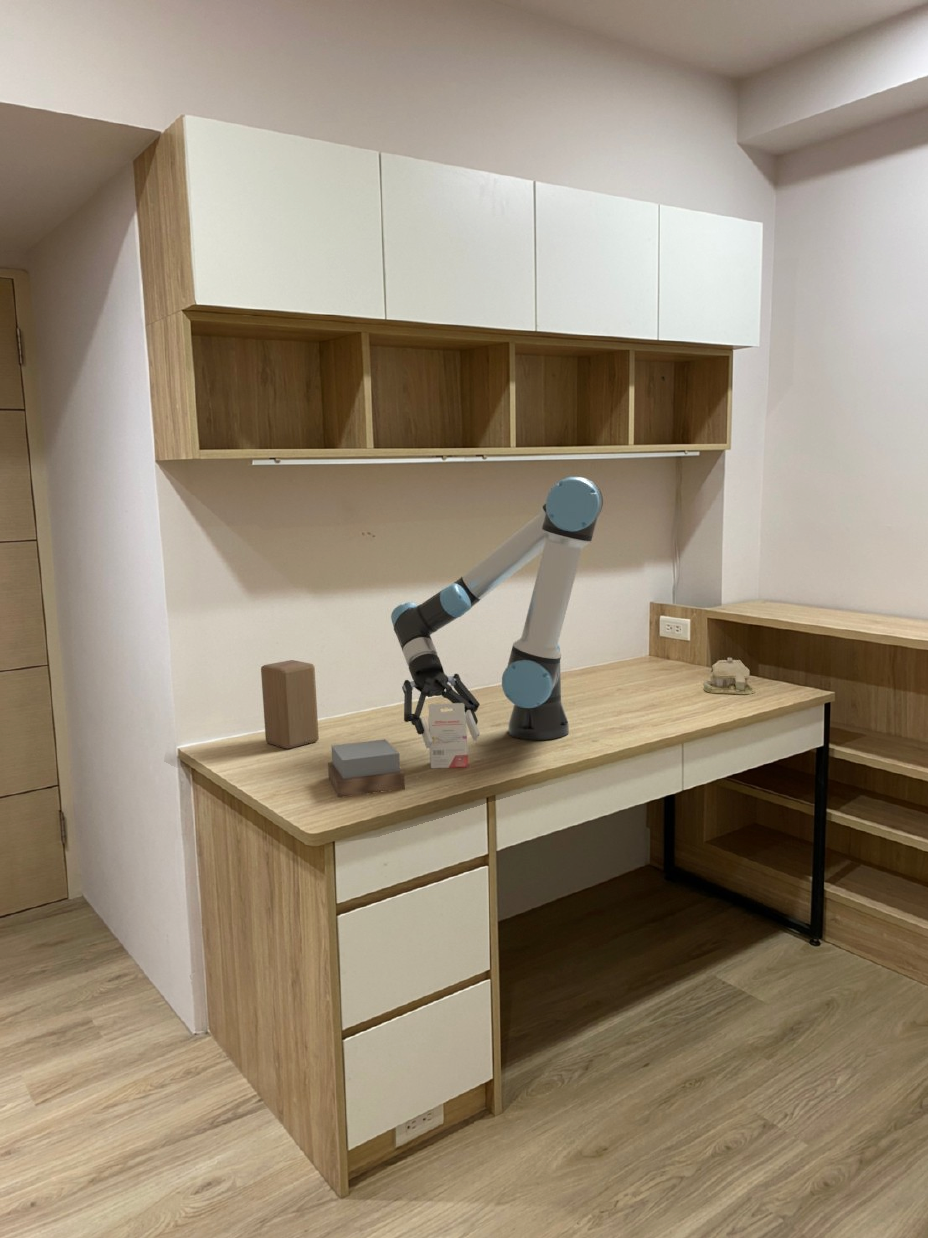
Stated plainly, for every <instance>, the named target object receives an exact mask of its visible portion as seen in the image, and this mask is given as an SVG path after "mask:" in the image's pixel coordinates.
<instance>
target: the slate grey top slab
mask: <svg viewBox="0 0 928 1238" xmlns="http://www.w3.org/2000/svg"><path fill="white" fill-rule="evenodd" d="M331 760H332V761H331V762H332V764H333V765H334V767H335V768H336V769H337V771H338V772H339V774H340V775H341V776H342V778H343V779H349V778H356V777H364V776H372V775H379V774H387V773H395V772H400V768H401V765H400V764H401V763H400V762H401V761H400V760H401V759H400V753H399V751H398V750H397V749H396V748H394V747H393V746H392V744H390V743H389V742H388V741H387V740H386V739H379V740H369V741H361V742H354V743H353V742H351V743H343V744H336V745H331Z"/></svg>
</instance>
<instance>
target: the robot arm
mask: <svg viewBox="0 0 928 1238" xmlns="http://www.w3.org/2000/svg"><path fill="white" fill-rule="evenodd" d="M545 500H546V501H545V503H544V504H543V505H542V506H541V507H540V513H538V514H537V515H536V516H535V517H534V518H532V519H531V520H530V521H529V522H528V523H526V524H525V525H524V526H522V528H520V529H519V530H518V531H517V532H514V534H513V535H511V536H510V537H509V538H508V539H507V540H505V541H504V542H502V543H501V544H500V545H499V546H498V547H497V548H495V549H494V550H493V551H492V552H490V553H489V554H488V555H487V556H486V557H484V558H483V559H481V561H479V562H478V563H477V564H475V566H473V567H472V568H471V569H470V570H468V571H467V572H465V574H463V576H461V577H460V578H458V579H457V580H456V581H454V582H453V583H452V584H450V585H448V586H446V587H444V588H442V589H441V590H440V591H439V592H436V594H433V596H431V597H430V598H428V599H426V600H425V601H423V602H422V603H421V604H419V605H418V604H417V603H415V602H405V603H404V604H401V603H400V604H399V605H397V606H396V607H395V608H394V609H393V611H392V612H391V614H390V619H391V623H392V626H393V631H394V634H395V635H396V638H397V641H398V643H399V646H400V648H401V651H402V653H403V656H404V659H405V663H406V665H407V666H408V670H409V673H410V677H411V678H412V680H411V681H410V680H408V679H405V680H404V682H403V683H402V687H401V688H402V692H403V693H404V698H403V699H404V700H403V701H404V702H403V704H404V705H403V706H404V707H403V721H404V723H408V722H411V725H412V726H414V727H415V730H416V733H417V734H418V735H421V737H422V738H423V741H424V745H425V748H426V749H430V747H431V745H432V743H433V740H432V738H431V735H430V732H429V726H428V724H427V721H426V718H425V716H421V713H422V710H423V708H424V704H425V701H426V698H432V697H440V696H441V697H443V698H444V699H447V700H449V702H451V703H464V706H465V714H466V727H467V728H468V731H469V734H470V736H471V738H472V741H477V740H478V739H479V736H480V734H481V733H480V731H479V728H478V726H477V725H478V723H479V720H478V717H477V715H476V713H477V711H478V709H479V707H480V706H481V705H480V702H479V701H478V700H477V698H475V696H474V695H473V694H472V693H471V690H469V689H468V688H467V686H466V685H465V684H464V682H462V679H461V677H460V675H459V673H454V674H453V675H450V676H448V675H447V674H446V673H445V671H444V667H443V665H442V663H441V660H440V657H439V656H438V651H437V650H436V647H435V645H434V642H433V640H432V637H431V635H432V634H434V633H436V632H437V631H438V630H439V631H440V629H442V628H444V627H445V626H446V625H449V624H451V623H452V622H453V621H455V620H457V619H458V618H461V617H462V616H464V615H465V614H466V613H467V612H469V611H470V610H471V609H472V608H473V607H474V606H475V605H476V604H478V603H479V602H480V601H482V600H483V598H485V597H486V596H488V595H489V594H490V593H491V592H493V591H494V590H495V589H496V588H498V587H499V586H500V585H502V583H505V582H506V581H507V580H508V579H509V578H511V577H512V576H513V575H514V574H516V573H517V572H518V571H519V570H521V569H522V568H523V567H524V566H526V565H527V564H528V563H529V562H530V561H532V560H533V559H534V558H535V557H537V556H538V555H539V554H541V553H542V554H541V558H540V562H539V567H538V570H537V574H536V578H535V582H534V586H533V590H532V594H531V597H530V602H529V607H528V610H527V614H526V619H525V622H524V625H523V629H522V634H521V637H520V638H519V639H517V640H516V641H514V642H513V644H512V647H511V651H510V654H509V658H508V663H507V666H506V667H505V669H504V671H503V673H502V676H501V687H502V691H503V694H504V696H505V697H506V698H507V699H508V701H510V702H511V703H512V704H513V707H512V711H511V714H510V718H509V721H508V725H507V726H508V727H507V728H508V734H509V735H510V736H511V737H514V738H517V739H521V740H531V741H537V740H538V741H542V740H552V739H554V740H555V739H559V738H561V737H565V736H567V735H568V734H569V733H570V729H569V728H570V727H569V725H570V724H569V721H568V718H567V714H566V712H565V709H564V706H563V704H562V681H561V680H562V679H561V675H562V673H561V659H562V652H561V647H560V645H559V644H558V643H559V641H560V636H561V633H562V629H563V625H564V621H565V617H566V615H567V610H568V607H569V606H568V605H569V601H570V598H571V595H572V590H573V587H574V586H573V585H574V582H575V579H576V574H577V572H578V567H579V563H580V560H581V556H582V553H583V550H584V549H583V548H584V547H586V546H588V545H589V544H591V543H592V541H593V537H594V532H595V528H596V525H597V523H598V517H599V516H600V514H601V512H602V510H603V507H604V505H603V504H604V498H603V494H602V491H601V488H600V487H599V486H598V485H597V484H596V482H595V481H593V480H591V479H589V478H587V477H582V476H568V477H564V478H563V479H560V480H559V481H557V482H556V483H555V484H554V485H553V486H552V488H550V490H549V492H548V494H547V496H546V499H545ZM453 688H454V689H453ZM413 689H416V690H417V691H418V692H420V694H419V697H418V701H417V704H416V708H415V710H414V713H413Z"/></svg>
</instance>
